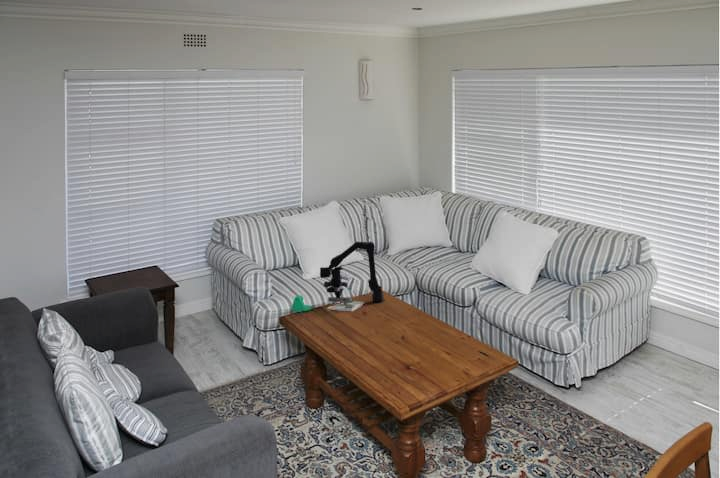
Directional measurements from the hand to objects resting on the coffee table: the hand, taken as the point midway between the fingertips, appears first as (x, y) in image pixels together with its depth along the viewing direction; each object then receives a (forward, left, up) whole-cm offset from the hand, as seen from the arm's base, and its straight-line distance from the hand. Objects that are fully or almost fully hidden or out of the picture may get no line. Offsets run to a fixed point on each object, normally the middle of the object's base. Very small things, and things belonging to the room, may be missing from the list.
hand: (338, 300), depth 396 cm
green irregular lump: (+18, +16, -4) cm, 25 cm away
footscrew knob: (-3, +4, -1) cm, 5 cm away
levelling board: (-8, +6, -3) cm, 10 cm away
